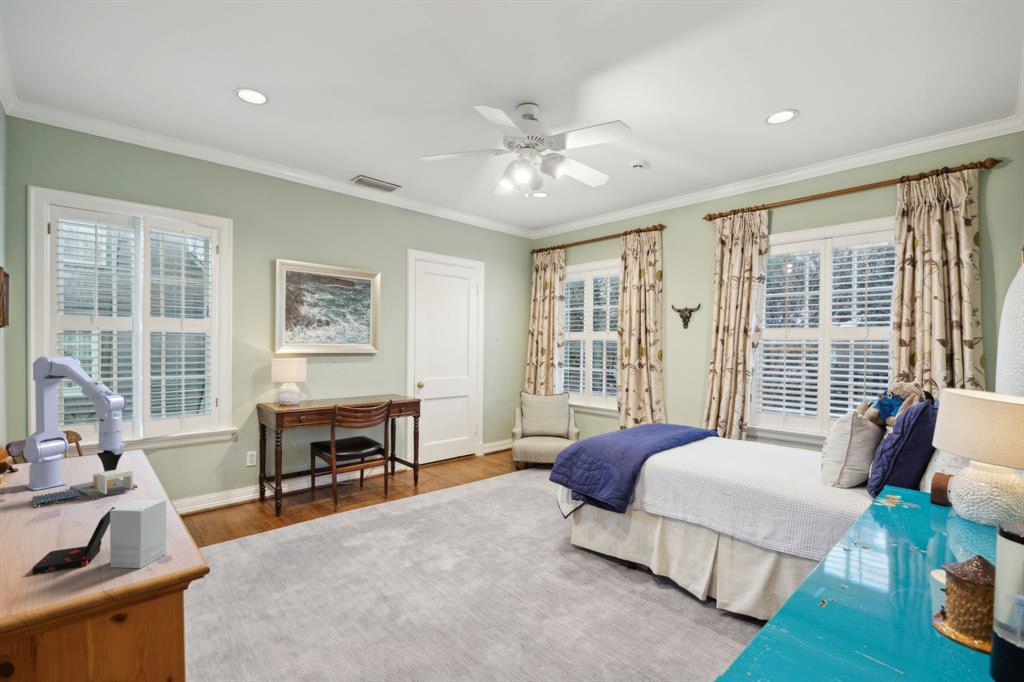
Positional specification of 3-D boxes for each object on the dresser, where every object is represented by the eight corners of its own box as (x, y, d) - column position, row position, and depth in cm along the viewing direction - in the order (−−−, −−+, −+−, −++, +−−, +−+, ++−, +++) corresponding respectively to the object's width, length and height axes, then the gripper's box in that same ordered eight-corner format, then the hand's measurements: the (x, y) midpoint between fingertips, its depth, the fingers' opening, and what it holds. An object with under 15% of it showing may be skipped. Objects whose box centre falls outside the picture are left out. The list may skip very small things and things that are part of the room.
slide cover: (97, 490, 150) (97, 473, 150) (124, 484, 156) (125, 467, 156) (104, 494, 147) (104, 476, 147) (132, 487, 153) (132, 470, 153)
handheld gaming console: (50, 557, 108) (51, 513, 108) (118, 547, 113) (118, 505, 113) (31, 575, 99) (31, 528, 99) (104, 564, 105) (104, 519, 104)
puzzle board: (70, 489, 156) (70, 486, 156) (115, 480, 166) (115, 477, 166) (91, 499, 146) (91, 495, 146) (137, 488, 157) (137, 485, 157)
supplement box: (168, 554, 109) (168, 499, 109) (139, 569, 102) (139, 511, 102) (138, 552, 110) (138, 498, 110) (108, 567, 103) (108, 509, 103)
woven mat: (76, 493, 153) (76, 487, 153) (82, 501, 146) (82, 494, 146) (30, 502, 145) (30, 495, 145) (34, 510, 138) (34, 503, 138)
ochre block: (93, 489, 156) (93, 474, 156) (108, 486, 159) (108, 471, 159) (98, 491, 154) (98, 476, 154) (113, 488, 157) (113, 473, 157)
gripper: (134, 432, 153) (134, 474, 153) (116, 427, 161) (116, 467, 161) (107, 435, 147) (107, 479, 147) (89, 431, 155) (89, 472, 155)
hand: (110, 473), depth 154 cm, fingers closed
